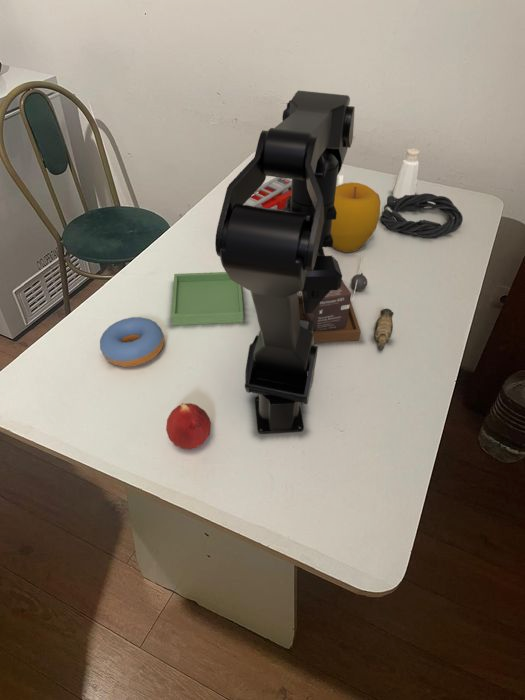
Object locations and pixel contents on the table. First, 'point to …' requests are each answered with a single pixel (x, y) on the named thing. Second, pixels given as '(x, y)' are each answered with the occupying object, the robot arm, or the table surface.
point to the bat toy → (359, 281)
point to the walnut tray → (339, 335)
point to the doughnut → (143, 338)
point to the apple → (354, 216)
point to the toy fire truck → (271, 194)
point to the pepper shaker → (407, 175)
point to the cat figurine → (384, 327)
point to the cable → (420, 203)
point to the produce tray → (206, 299)
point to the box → (331, 310)
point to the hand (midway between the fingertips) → (304, 293)
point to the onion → (188, 426)
